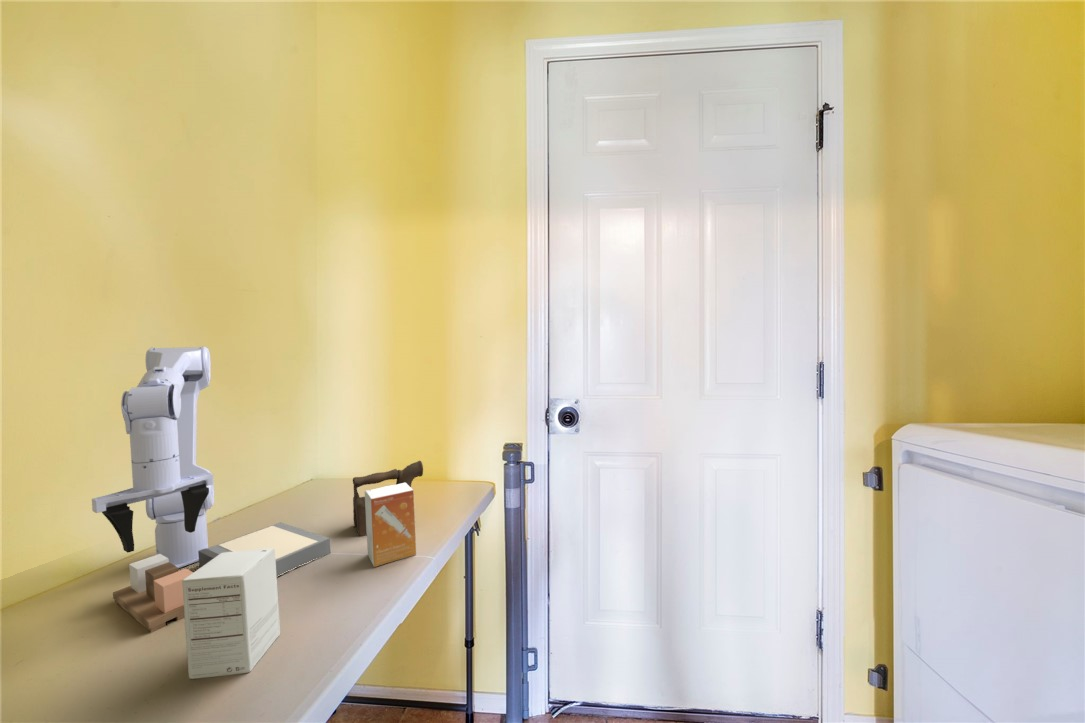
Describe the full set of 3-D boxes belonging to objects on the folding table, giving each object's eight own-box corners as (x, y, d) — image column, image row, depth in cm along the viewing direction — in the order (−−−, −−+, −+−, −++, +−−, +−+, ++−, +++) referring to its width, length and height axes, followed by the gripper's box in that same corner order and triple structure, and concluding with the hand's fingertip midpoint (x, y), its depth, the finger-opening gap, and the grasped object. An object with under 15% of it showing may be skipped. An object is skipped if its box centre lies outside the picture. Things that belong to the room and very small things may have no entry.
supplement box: (227, 639, 57) (221, 551, 57) (282, 634, 58) (277, 546, 58) (185, 681, 50) (179, 579, 50) (249, 674, 50) (243, 574, 50)
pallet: (113, 604, 68) (111, 568, 68) (174, 580, 75) (172, 548, 75) (149, 635, 59) (147, 595, 59) (215, 605, 66) (213, 569, 66)
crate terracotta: (155, 605, 63) (153, 580, 63) (187, 592, 67) (186, 568, 67) (164, 613, 61) (163, 587, 61) (197, 598, 65) (196, 574, 65)
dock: (199, 566, 79) (198, 550, 79) (281, 535, 92) (280, 521, 92) (246, 591, 69) (245, 573, 69) (330, 552, 82) (329, 537, 82)
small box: (373, 568, 75) (370, 498, 75) (367, 555, 80) (363, 490, 80) (417, 555, 79) (414, 489, 79) (408, 543, 85) (405, 481, 85)
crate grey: (130, 587, 69) (129, 564, 69) (161, 575, 73) (160, 553, 73) (138, 593, 67) (137, 569, 67) (170, 581, 71) (168, 558, 71)
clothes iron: (428, 519, 97) (425, 464, 97) (355, 537, 89) (352, 477, 88) (420, 509, 104) (417, 457, 104) (351, 525, 95) (348, 469, 95)
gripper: (99, 473, 58) (105, 566, 59) (219, 450, 71) (224, 527, 71) (85, 468, 62) (91, 556, 62) (202, 447, 75) (206, 520, 75)
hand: (161, 540), depth 67 cm, fingers open, 7 cm apart
